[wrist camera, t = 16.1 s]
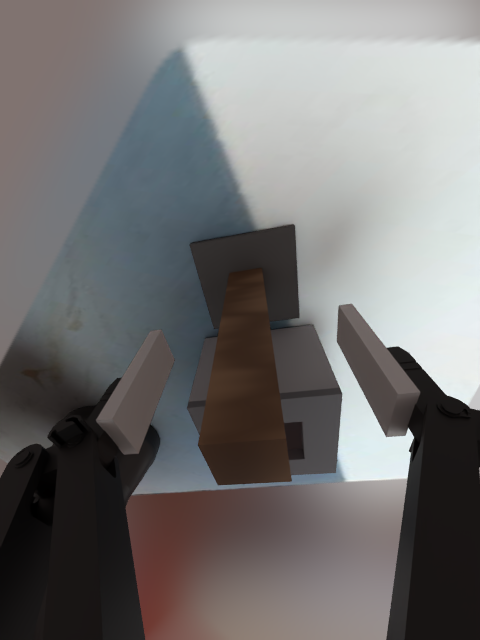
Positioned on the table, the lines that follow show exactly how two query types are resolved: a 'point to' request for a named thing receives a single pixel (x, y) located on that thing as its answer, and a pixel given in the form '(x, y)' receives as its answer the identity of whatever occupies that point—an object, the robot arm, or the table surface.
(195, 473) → the table surface
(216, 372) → the wooden stick
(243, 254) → the mat
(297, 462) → the grey box with opening
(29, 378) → the table surface
